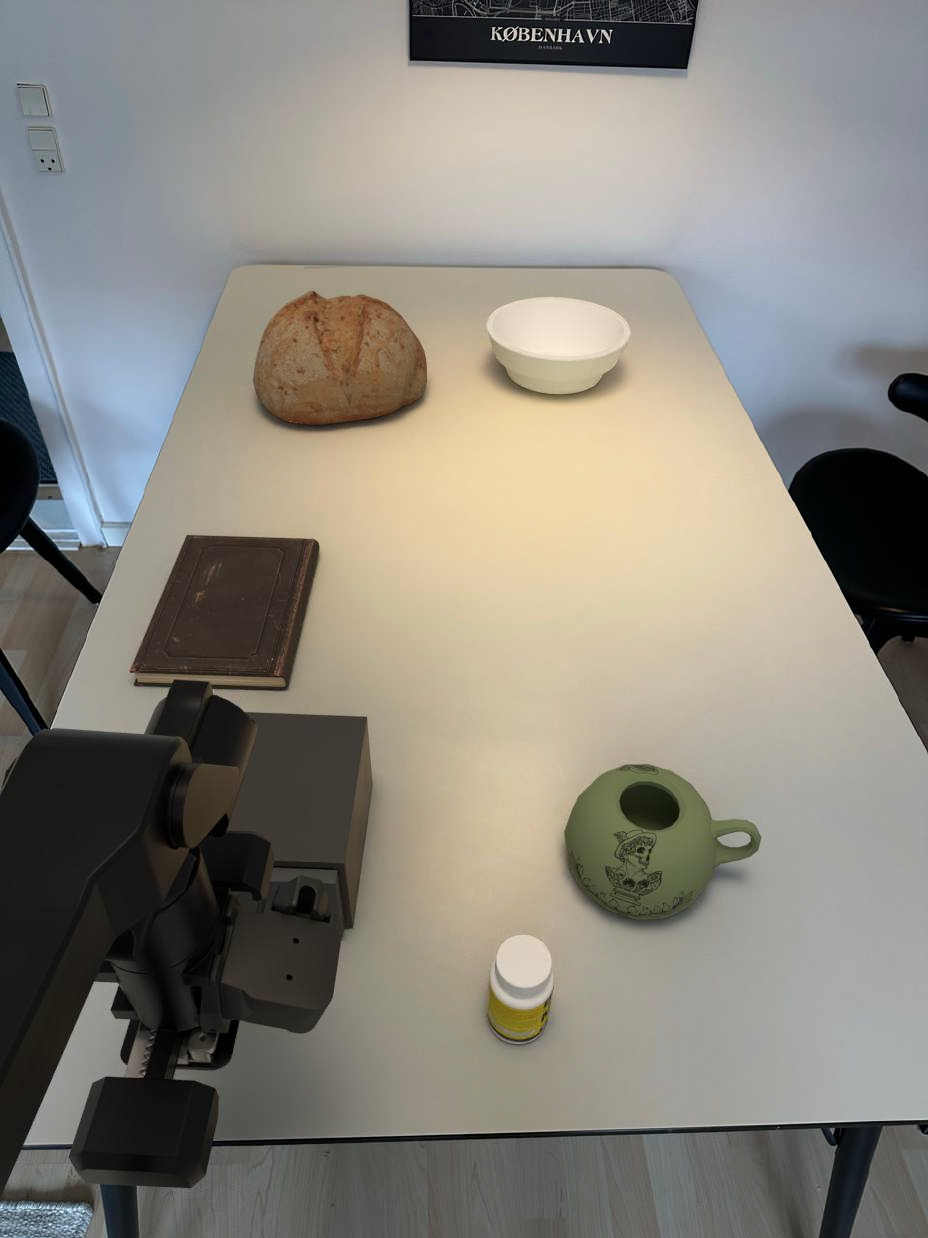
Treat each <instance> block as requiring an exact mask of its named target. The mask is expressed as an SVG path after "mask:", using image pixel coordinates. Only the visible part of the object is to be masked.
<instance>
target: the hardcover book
mask: <svg viewBox="0 0 928 1238" xmlns="http://www.w3.org/2000/svg"><path fill="white" fill-rule="evenodd" d="M320 549H321V547H320V543H319V541H318V540H316V539H315V538H296V537H270V536H269V537H268V536H236V535H235V536H234V535H233V536H232V535H206V534H205V535H204V534H203V535H202V534H201V535H200V534H186V535H185V537H184V540H183V543H182V545H181V547H180V550H179V552H178V555H177V557H176V559H175V562H174V564H173V566H172V569H171V571H170V574H169V576H168V578H167V580H166V583H165V585H164V588H163V590H162V593H161V594H160V597H159V599H158V602H157V605H156V606H155V609H154V611H153V614H152V617H151V618H150V621H149V624H148V625H147V628H146V631H145V633H144V635H143V637H142V641H141V642H140V645H139V647H138V650H137V652H136V653H135V657H134V658H133V661H132V664H131V666H130V668H129V673H130V674H135V680H134V682H133V686H137V687H164V688H165V687H166V688H167V687H169V688H170V687H171V685H172V682H173V680H174V679H179V680H194V681H209V682H210V683H211V687H212V689H226V690H227V689H228V690H230V689H231V690H259V691H260V690H261V691H285V690H286V689H287V688H288V687H289V682H290V677H291V673H292V669H293V665H294V661H295V657H296V651H297V647H298V644H299V639H300V635H301V630H302V626H303V622H304V618H305V615H306V610H307V605H308V602H309V596H310V592H311V589H312V584H313V580H314V576H315V572H316V568H317V562H318V558H319V555H320Z"/></svg>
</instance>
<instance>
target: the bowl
mask: <svg viewBox="0 0 928 1238" xmlns="http://www.w3.org/2000/svg"><path fill="white" fill-rule="evenodd" d="M485 329H486V332H487V335H488V339H489V341H490V345H491V348H492V351H493V355H494V357H495V358H496V359H497V361H498V363H500V364H501V365H502V366H503V367H505V370H506V373H507V375H508V377H509V378H510V379H511V381H513V382H514V383H515V384H517V385H518V386H520V387H522V388H525V389H527V390H530V391H533V392H537V393H543V394H548V395H549V394H550V395H551V394H552V395H553V394H554V395H568V394H575V393H580V392H583V391H586V390H589V389H591V388H593V387H594V386H596V385H597V384H598V383H599V382H600V381H601V379H602V377H603V375H604V374H606V373H607V372H609V371H610V370H612V369H613V368H614V367H615V366H616V365H617V363H618V362H619V360H620V358H621V356H622V355H623V353H624V350H625V349H626V347H627V345H628V343H629V341H630V338H631V336H632V335H631V334H632V333H631V327H630V325H629V323H628V322H627V320H626V319H625V318H623V317H622V315H620V314H619V313H617V311H616V312H615V311H614V310H612V309H611V308H609V307H606V306H603V305H601V304H598V303H595V302H592V301H588V300H583V299H578V298H571V297H561V296H539V297H538V296H537V297H530V298H524V299H519V300H514V301H512V302H511V301H510V302H509V303H506V304H503V305H502V306H499V307H498V308H496V309H495V310H494V311H492V313H490V314H489V316H488V318H487V320H486V323H485Z"/></svg>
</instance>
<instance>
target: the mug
mask: <svg viewBox="0 0 928 1238" xmlns="http://www.w3.org/2000/svg"><path fill="white" fill-rule="evenodd" d="M563 833H564V841H565V847H566V855H567V861H568V868H569V871H570V873H571V874H572V876H573V877H574V879H575V881H576V882H577V884H578V886H579V888H580V889H581V890H582V892H583V893H584V894H585V895H586V896H588V897H589V898H590V899H592V900H593V901H595V902H596V903H597V904H598V905H600V906H601V907H602V908H603V909H605V910H606V911H609V912H611V913H615V914H618V915H621V916H623V917H627V918H630V919H633V920H664V919H667V918H669V917H671V916H673V915H675V914H678V913H681V912H682V911H685V910H688V909H689V908H690V906H691V905H692V904H693V903H694V902H695V900H696V899H697V898H698V897H699V896H700V895H701V893H702V892H703V891H704V889H705V888H706V887H707V886H708V885H709V883H710V882H711V881H712V880H713V877H714V872H715V869H716V868H717V867H719V866H720V865H722V864H728V863H732V862H737V861H741V860H745V859H748V858H751V857H752V856H753V855H754V854H756V853H757V852H758V851H759V850H760V845H761V842H762V835H761V833H760V831H759V829H758V827H757V824H755V823H753V822H751V821H749V820H747V819H741V818H730V819H724V820H723V819H722V820H721V819H720V820H714V819H713V817H712V815H711V811H710V807H709V806H708V805H707V802H706V800H705V799H704V798H703V797H702V796H701V794H700V793H699V792H698V790H697V789H696V788H695V787H694V785H692V783H691V782H690V781H688V780H686V779H685V778H683V777H682V776H680V775H678V774H677V773H675V772H674V771H673V770H670V769H666V768H663V767H661V766H656V765H653V764H649V763H641V764H639V763H635V764H624V765H621V766H618V767H615V768H612V769H610V770H607V771H605V772H603V773H601V774H600V775H598V777H597V778H595V780H593V781H592V782H591V784H590V785H588V786H587V787H586V788H585V790H583V791H582V792H581V793H580V794H579V795H578V796H577V798H576V800H575V802H574V805H573V807H572V808H571V810H570V814H569V816H568V819H567V821H566V825H565V828H564V831H563ZM734 833H745V834H747V835H748V836H749V837H750V841H748V843H747V844H744V845H741V846H728V845H725V844H722V843H721V842H720V841H719V840H718V838H720V837H723V836H726V835H729V834H734Z"/></svg>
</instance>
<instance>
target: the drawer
mask: <svg viewBox="0 0 928 1238" xmlns="http://www.w3.org/2000/svg"><path fill="white" fill-rule="evenodd" d="M300 875H302V876H306V877H311V878H315V879H319V880H321V881H322V882H323V884H324V887H325V890H326V892H327V895H328V903H327V908H328V911H329V912H330V913H331V912H333V913H337V914H338V916H337V917H338V923H337V930H338V932H339V934H340V937H343V936H344V931H345V928H344V926H345V920H344V913H343V906H342V898H341V891H340V884H339V877H338V870H335V868H313V867H289V866H273V870H272V875H271V880H270V884H269V889H268V893H267V897H266V898H270V899H273V898H274V895H275V893H276V890H277V888H278V887H279V886H280V885H282V884H284V883H286V882H288V881H290V880H292V879H294V878H296V877H298V876H300ZM231 894H237V896H238V899H239V902H240V903H241V904H242V905H243V906H244V907H245V909H246V912H250V913H256V909H257V905H258V901H253V900H252V896H251V892H231ZM266 898H265V899H266Z"/></svg>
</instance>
